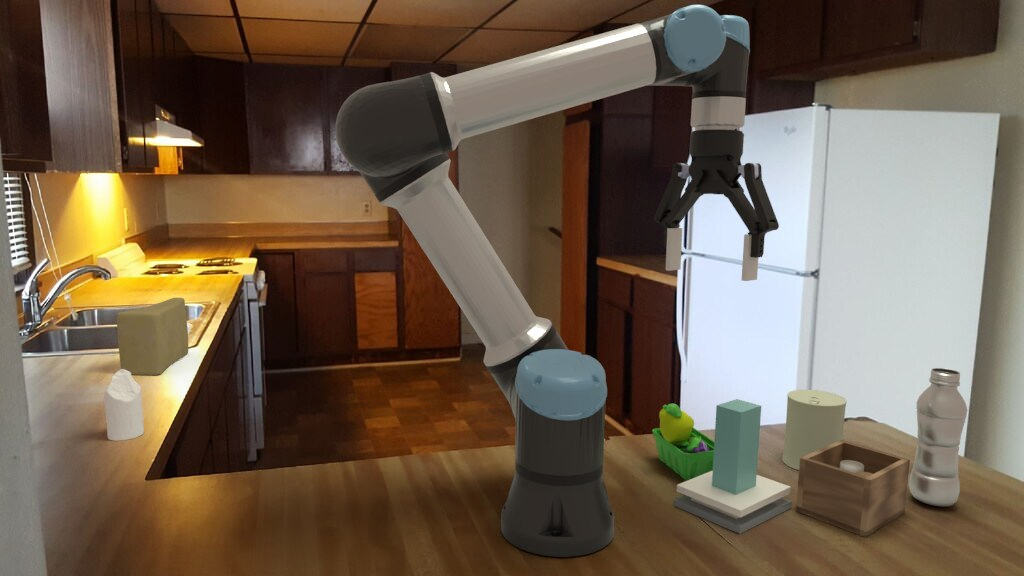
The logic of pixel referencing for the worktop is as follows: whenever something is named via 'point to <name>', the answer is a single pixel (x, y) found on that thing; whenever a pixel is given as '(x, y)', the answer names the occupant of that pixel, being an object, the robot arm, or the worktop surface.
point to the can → (811, 423)
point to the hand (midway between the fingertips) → (709, 275)
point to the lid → (735, 465)
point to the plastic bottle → (938, 440)
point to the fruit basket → (683, 444)
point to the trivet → (730, 522)
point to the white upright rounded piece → (123, 407)
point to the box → (852, 487)
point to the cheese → (152, 337)
